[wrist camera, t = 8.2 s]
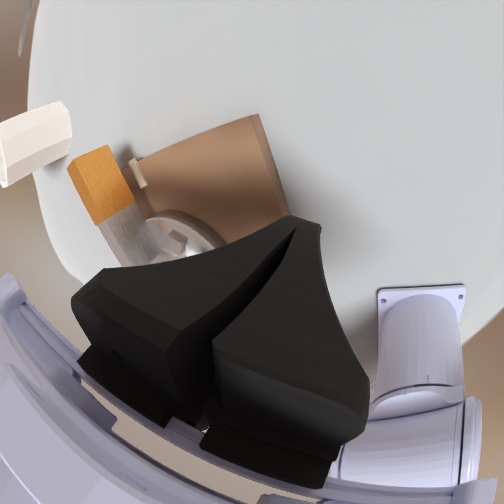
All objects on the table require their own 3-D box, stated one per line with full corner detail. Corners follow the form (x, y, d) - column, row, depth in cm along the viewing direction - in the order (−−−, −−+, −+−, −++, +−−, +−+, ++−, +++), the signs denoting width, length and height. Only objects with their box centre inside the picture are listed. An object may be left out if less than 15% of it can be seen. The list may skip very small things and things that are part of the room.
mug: (74, 106, 23) (2, 133, 15) (72, 166, 28) (12, 200, 21) (38, 92, 24) (-18, 113, 16) (37, 142, 29) (-12, 167, 22)
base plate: (322, 339, 26) (318, 352, 25) (171, 322, 37) (164, 330, 36) (256, 107, 16) (245, 110, 15) (95, 180, 28) (84, 186, 26)
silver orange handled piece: (262, 311, 25) (237, 357, 21) (178, 312, 31) (152, 345, 27) (158, 109, 17) (101, 125, 13) (92, 168, 24) (51, 190, 20)
